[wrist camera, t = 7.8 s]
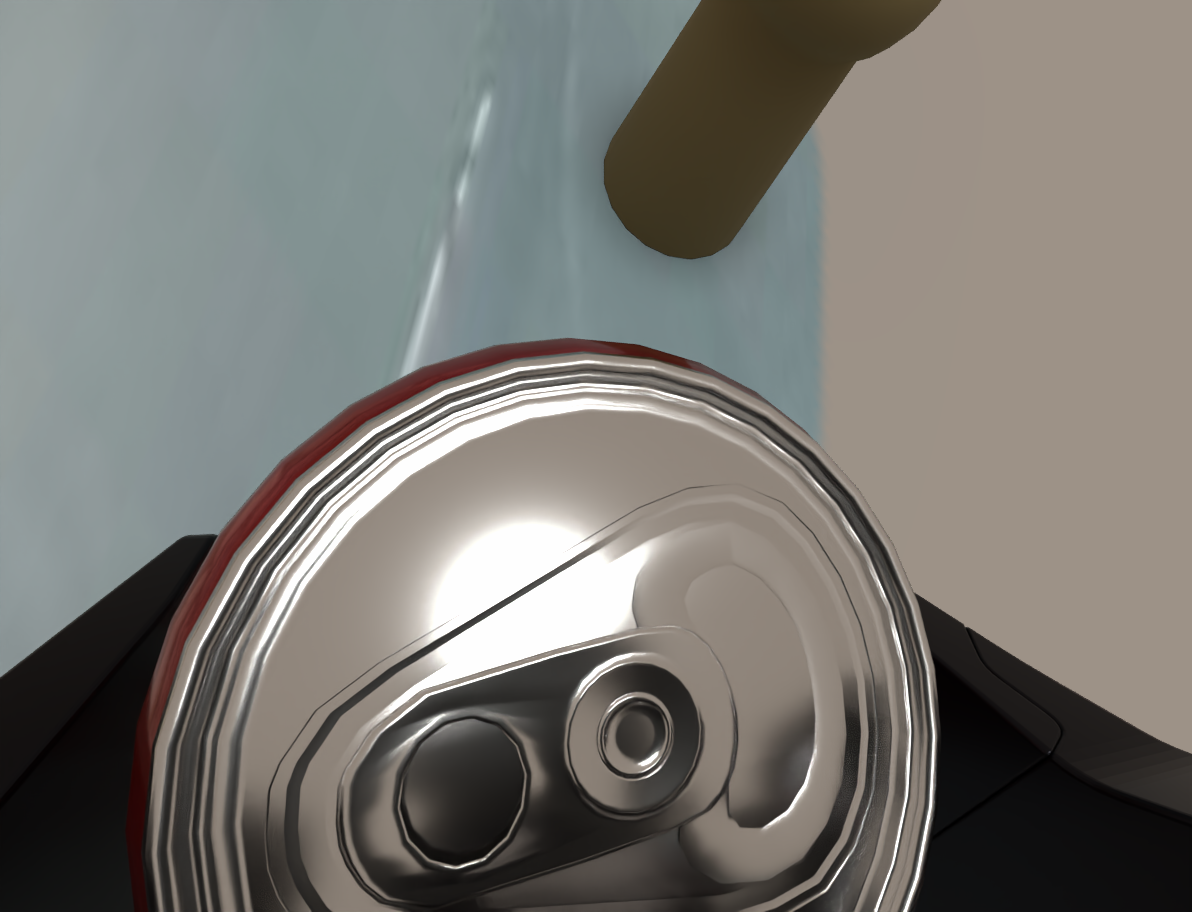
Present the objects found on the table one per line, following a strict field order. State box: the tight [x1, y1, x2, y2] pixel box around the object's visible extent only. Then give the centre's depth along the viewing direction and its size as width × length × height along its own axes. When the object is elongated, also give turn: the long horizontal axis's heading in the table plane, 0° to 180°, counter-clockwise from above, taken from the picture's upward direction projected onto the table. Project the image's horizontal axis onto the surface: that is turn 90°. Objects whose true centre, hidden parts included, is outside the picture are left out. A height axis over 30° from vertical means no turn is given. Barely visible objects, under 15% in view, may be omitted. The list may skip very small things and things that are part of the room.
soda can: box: [125, 338, 941, 912], centre depth 10 cm, size 7×7×12 cm
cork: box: [604, 0, 941, 259], centre depth 15 cm, size 6×6×11 cm
